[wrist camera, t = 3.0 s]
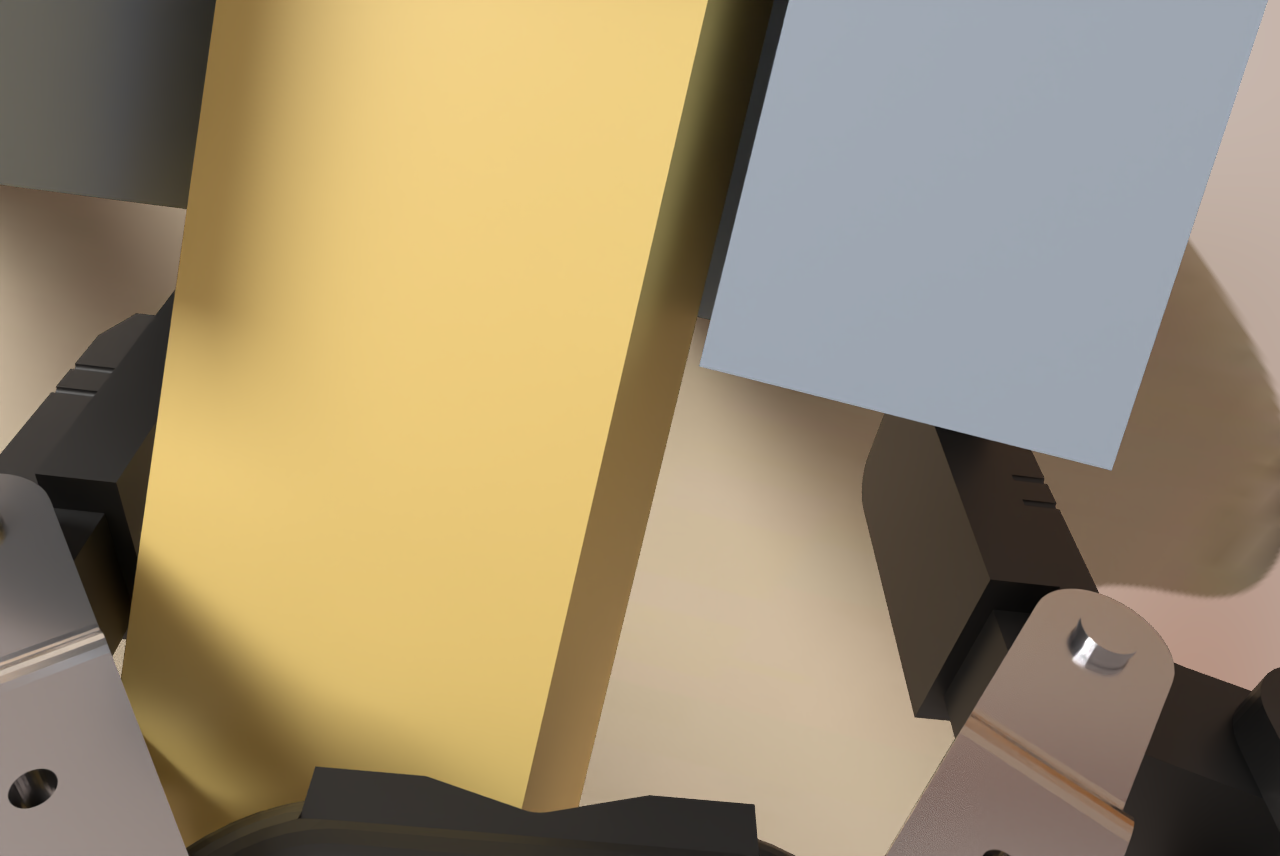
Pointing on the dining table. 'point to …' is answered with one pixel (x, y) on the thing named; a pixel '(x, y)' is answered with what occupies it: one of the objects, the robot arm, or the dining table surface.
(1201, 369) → the dining table surface
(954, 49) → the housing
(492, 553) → the bar
